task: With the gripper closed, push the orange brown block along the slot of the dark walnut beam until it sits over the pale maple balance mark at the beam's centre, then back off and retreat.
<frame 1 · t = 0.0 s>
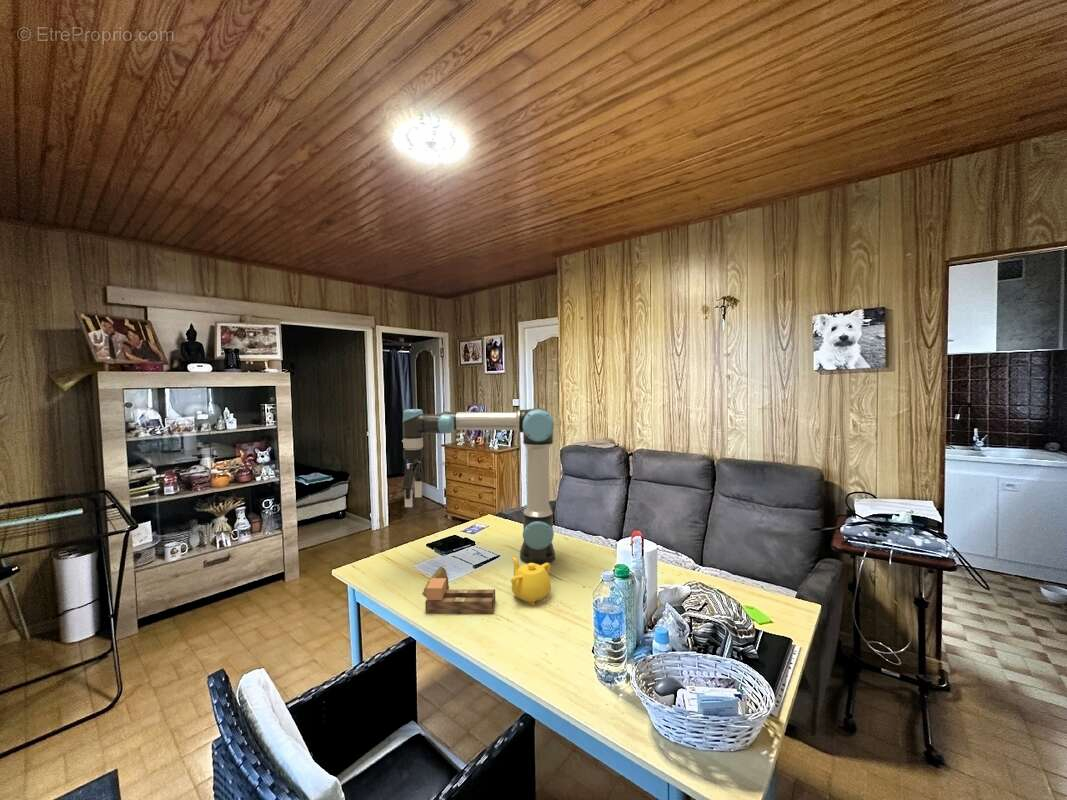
hand: (413, 501, 165), 28 cm above the table, fingers open, 13 cm apart
beam: (461, 607, 140), on the table
orange brown block: (436, 592, 139), point 5 cm above the table, slide at 8.3 cm
teapot: (527, 595, 148), on the table
rock: (435, 598, 145), on the table, touching beam
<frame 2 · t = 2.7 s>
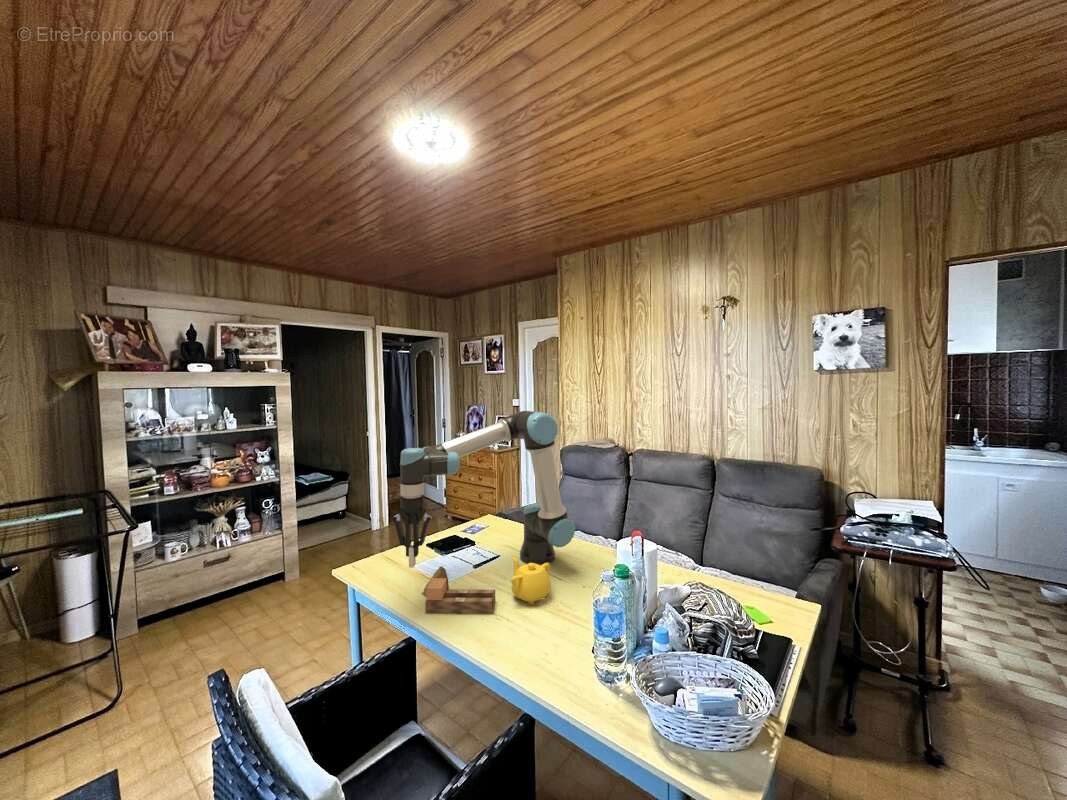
hand: (412, 565, 139), 14 cm above the table, fingers closed
nothing on the table moved.
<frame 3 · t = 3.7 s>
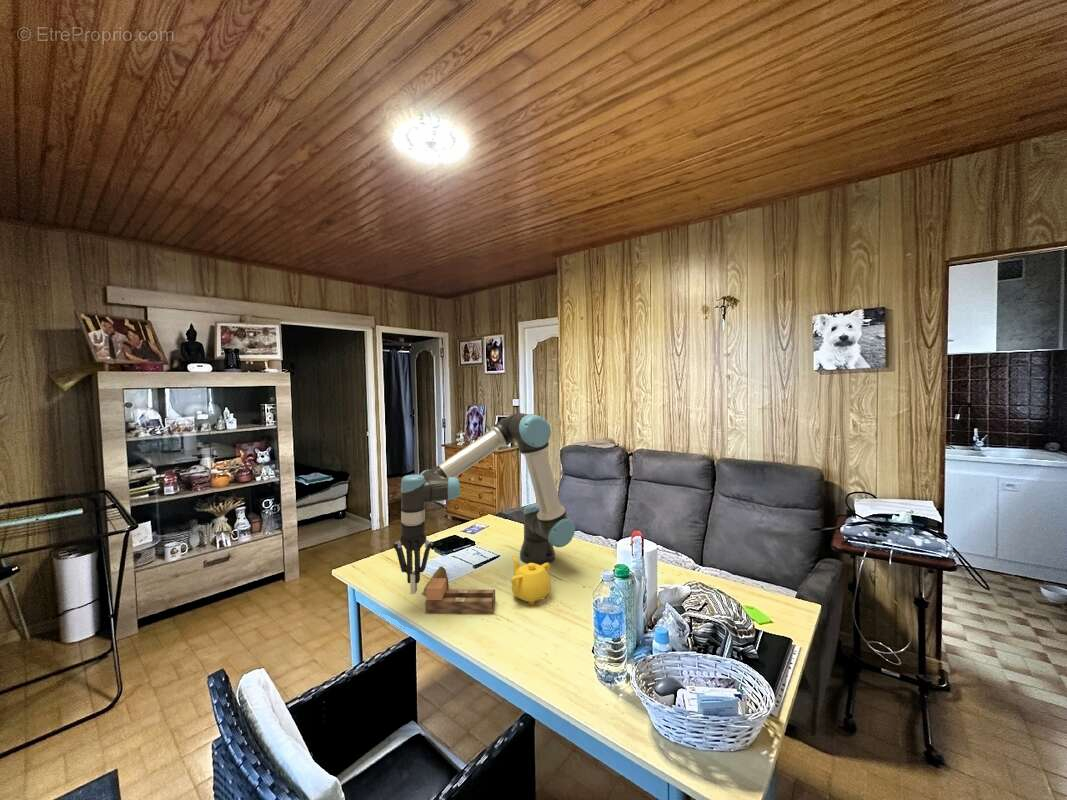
hand: (413, 591, 139), 5 cm above the table, fingers closed
nothing on the table moved.
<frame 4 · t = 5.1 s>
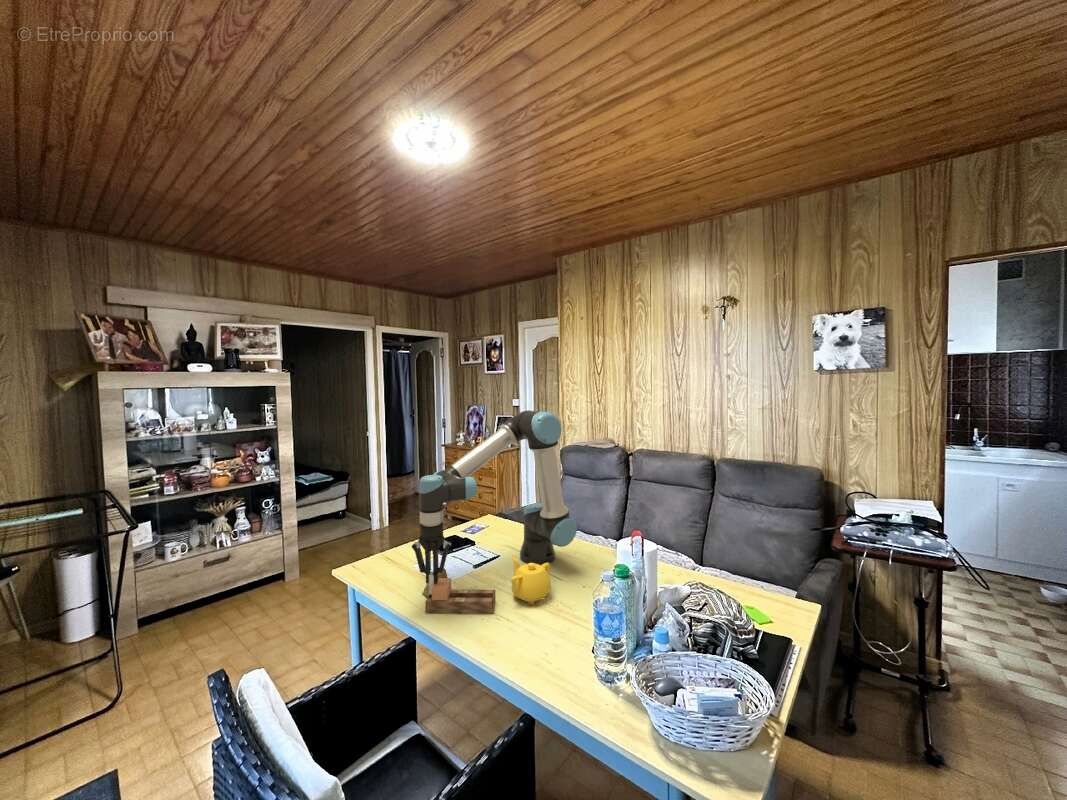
hand: (432, 592, 139), 5 cm above the table, fingers closed
orange brown block: (441, 592, 139), point 5 cm above the table, slide at 6.5 cm, touching gripper
everything else where it was.
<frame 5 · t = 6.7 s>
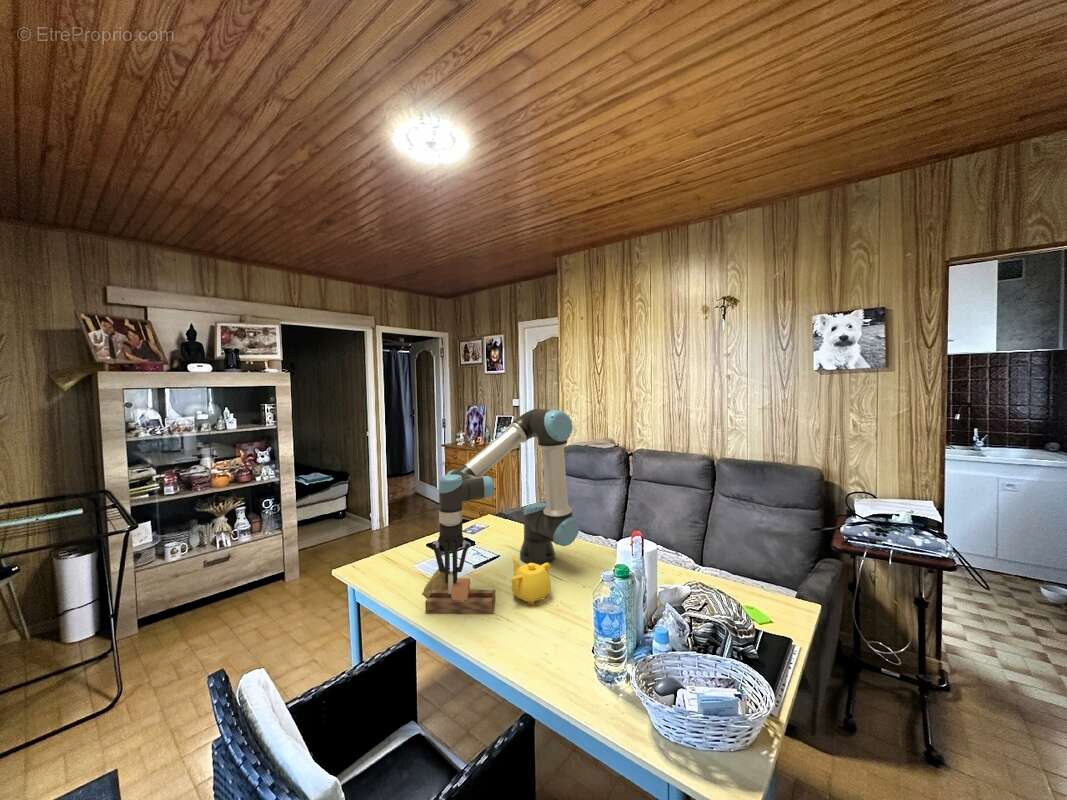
hand: (451, 591, 139), 5 cm above the table, fingers closed
orange brown block: (461, 592, 139), point 5 cm above the table, slide at 0.1 cm, touching gripper
everything else where it was.
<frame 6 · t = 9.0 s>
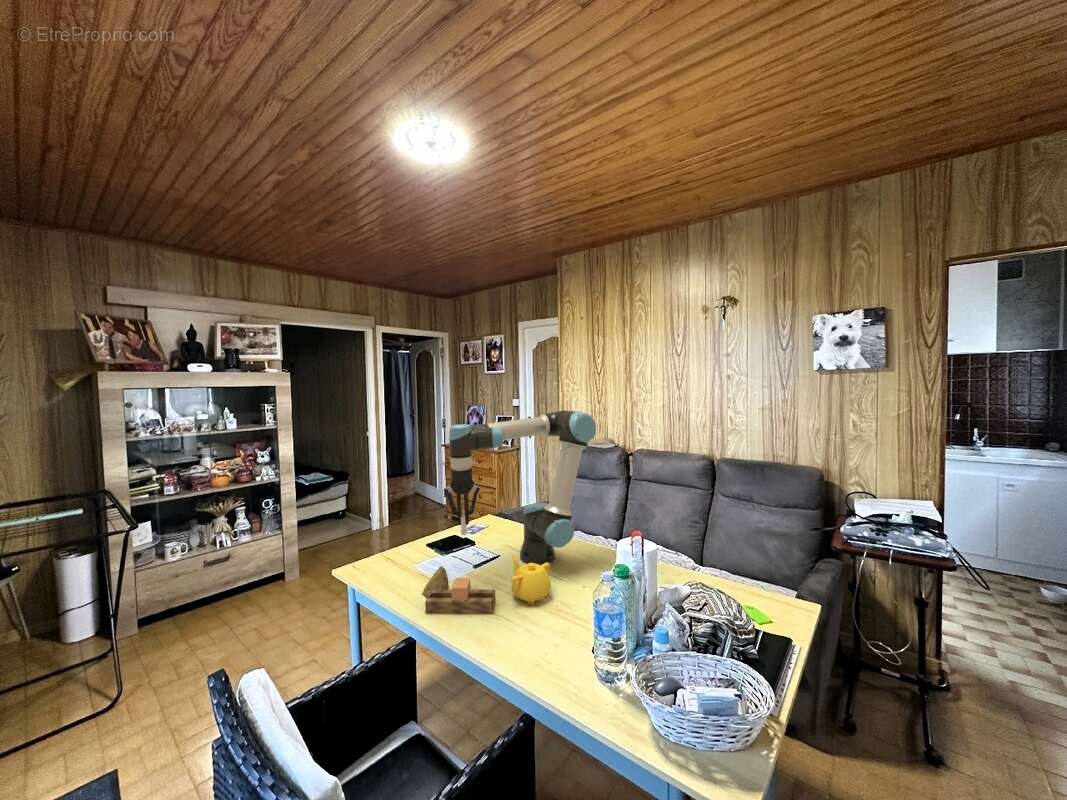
hand: (464, 533, 150), 21 cm above the table, fingers closed
orange brown block: (461, 592, 139), point 5 cm above the table, slide at 0.1 cm
everything else where it was.
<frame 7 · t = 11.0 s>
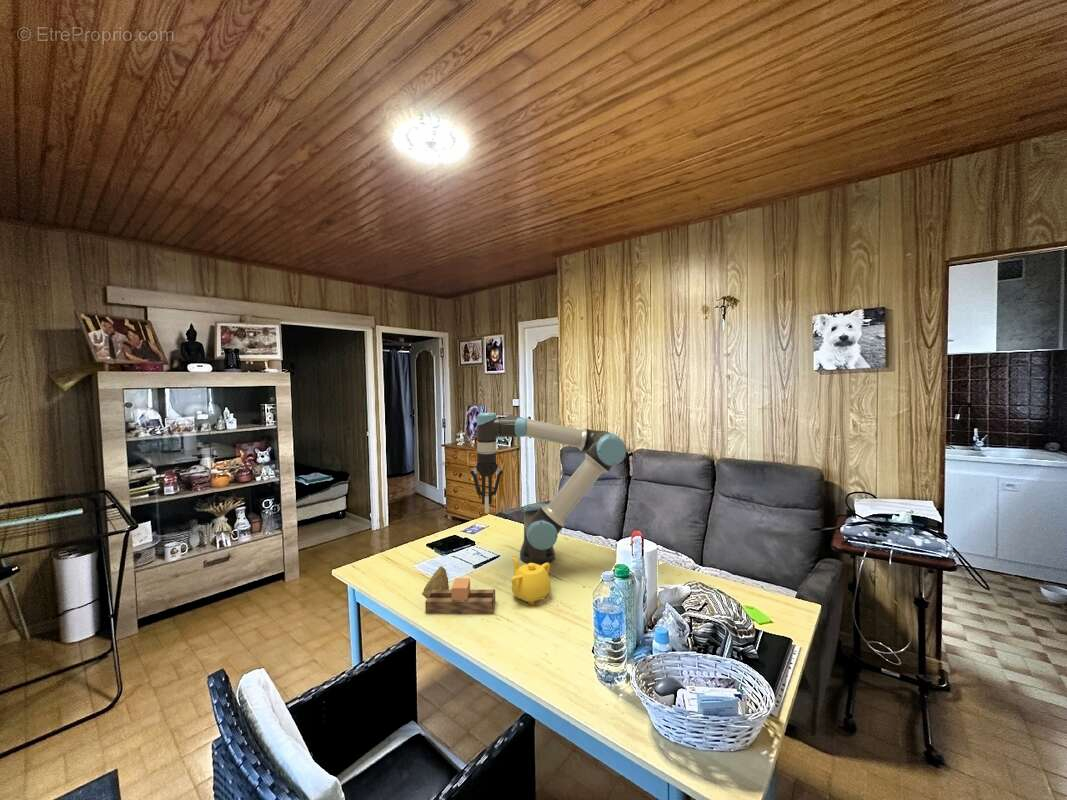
hand: (487, 512, 164), 24 cm above the table, fingers closed
nothing on the table moved.
at the end: orange brown block slide at 0.1 cm; the gripper is holding nothing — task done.
